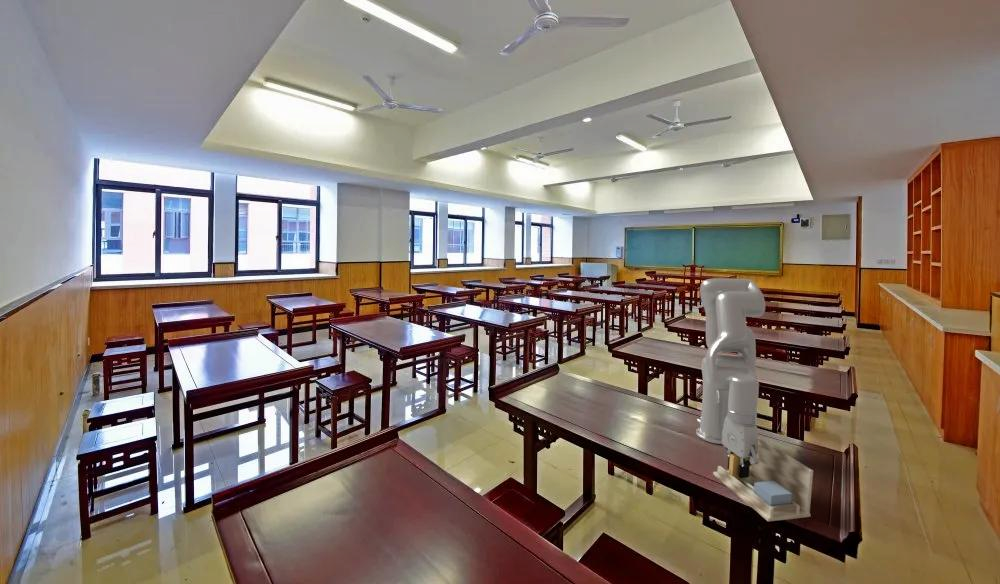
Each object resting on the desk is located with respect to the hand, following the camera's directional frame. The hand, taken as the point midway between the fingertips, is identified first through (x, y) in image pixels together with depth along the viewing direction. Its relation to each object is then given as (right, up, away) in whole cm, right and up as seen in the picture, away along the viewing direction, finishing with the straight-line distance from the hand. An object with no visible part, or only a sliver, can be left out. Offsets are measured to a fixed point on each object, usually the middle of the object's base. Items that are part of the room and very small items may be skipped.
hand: (738, 472), depth 125 cm
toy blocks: (+1, -3, -7) cm, 8 cm away
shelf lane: (+2, -4, -6) cm, 7 cm away
